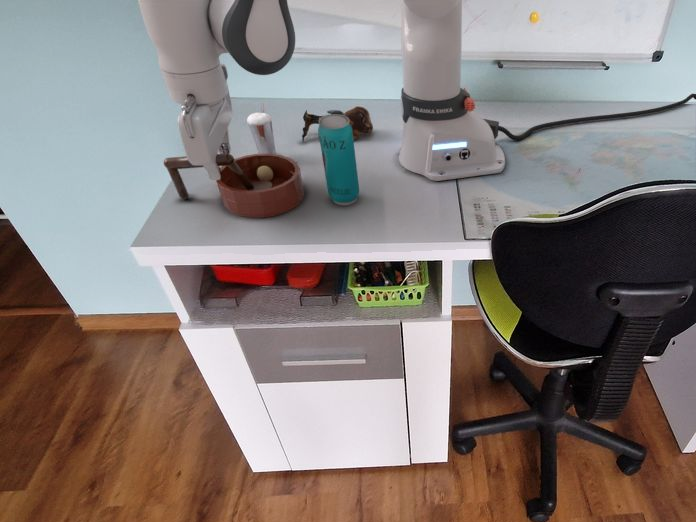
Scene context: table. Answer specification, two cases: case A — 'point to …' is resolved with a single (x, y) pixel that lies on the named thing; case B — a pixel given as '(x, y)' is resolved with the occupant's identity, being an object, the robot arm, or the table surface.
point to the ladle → (183, 163)
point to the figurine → (357, 120)
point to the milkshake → (262, 132)
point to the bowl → (268, 200)
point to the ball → (265, 173)
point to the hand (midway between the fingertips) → (221, 165)
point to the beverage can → (339, 158)
